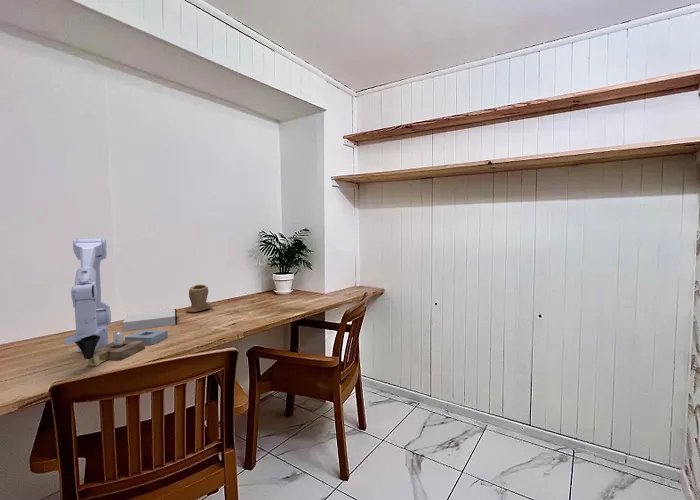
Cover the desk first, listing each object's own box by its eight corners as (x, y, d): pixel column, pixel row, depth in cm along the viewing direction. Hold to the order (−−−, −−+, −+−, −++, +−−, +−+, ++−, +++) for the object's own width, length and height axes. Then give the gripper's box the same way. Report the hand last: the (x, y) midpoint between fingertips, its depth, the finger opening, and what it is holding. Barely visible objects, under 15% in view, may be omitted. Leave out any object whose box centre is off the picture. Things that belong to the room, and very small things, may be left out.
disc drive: (177, 325, 169) (176, 315, 169) (123, 332, 159) (122, 322, 158) (176, 317, 185) (176, 308, 184) (127, 323, 174) (127, 313, 174)
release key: (86, 365, 118) (85, 356, 118) (100, 359, 124) (100, 350, 124) (96, 366, 118) (96, 356, 117) (110, 359, 124) (110, 350, 123)
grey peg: (112, 354, 129) (111, 334, 128) (118, 352, 132) (117, 331, 131) (119, 355, 128) (118, 334, 128) (125, 352, 131) (124, 331, 131)
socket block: (91, 359, 125) (90, 351, 125) (117, 347, 137) (117, 340, 136) (121, 360, 123) (120, 351, 123) (145, 348, 135) (144, 340, 135)
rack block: (125, 344, 141) (124, 337, 140) (142, 336, 150) (142, 329, 150) (152, 344, 139) (151, 337, 139) (167, 337, 149) (167, 330, 149)
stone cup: (195, 314, 189) (194, 287, 188) (182, 312, 194) (181, 286, 194) (218, 308, 202) (217, 283, 201) (205, 306, 208) (204, 282, 207)
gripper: (77, 325, 108) (80, 367, 109) (114, 313, 123) (116, 350, 124) (57, 325, 109) (60, 366, 110) (96, 313, 124) (98, 350, 124)
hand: (88, 358), depth 117 cm, fingers closed
